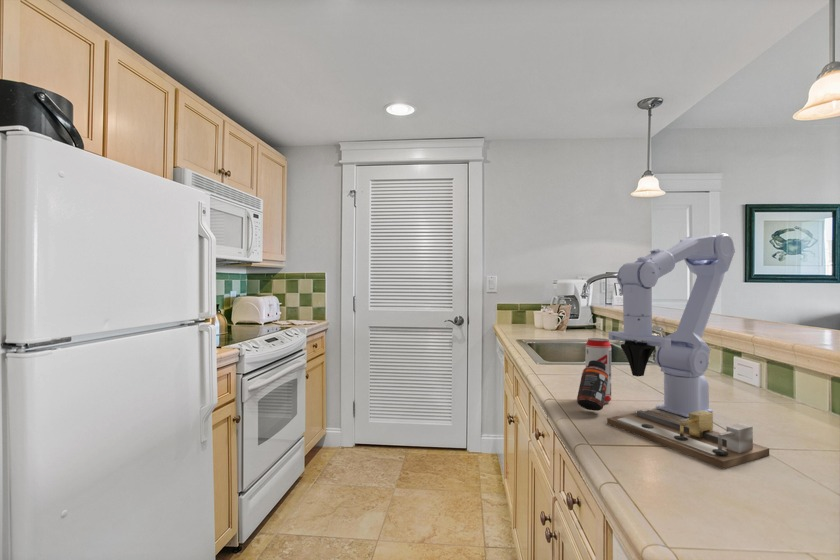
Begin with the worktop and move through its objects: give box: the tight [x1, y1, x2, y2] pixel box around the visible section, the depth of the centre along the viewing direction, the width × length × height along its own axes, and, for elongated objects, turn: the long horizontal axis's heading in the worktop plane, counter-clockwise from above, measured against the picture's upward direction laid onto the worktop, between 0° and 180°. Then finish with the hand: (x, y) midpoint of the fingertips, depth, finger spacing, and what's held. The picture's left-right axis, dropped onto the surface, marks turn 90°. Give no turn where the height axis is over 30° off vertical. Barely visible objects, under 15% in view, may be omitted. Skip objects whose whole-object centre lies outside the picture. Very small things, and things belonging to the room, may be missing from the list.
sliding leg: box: [680, 410, 714, 438], centre depth 79 cm, size 8×2×4 cm, turn 113°
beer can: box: [584, 337, 612, 405], centre depth 107 cm, size 6×6×16 cm
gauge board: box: [606, 409, 770, 470], centre depth 82 cm, size 13×24×5 cm, turn 23°
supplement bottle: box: [576, 360, 608, 412], centre depth 100 cm, size 6×6×11 cm
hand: (638, 375), depth 93 cm, fingers closed
